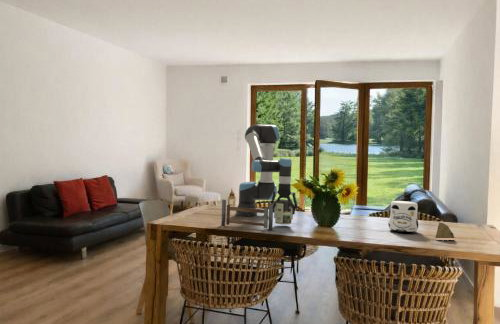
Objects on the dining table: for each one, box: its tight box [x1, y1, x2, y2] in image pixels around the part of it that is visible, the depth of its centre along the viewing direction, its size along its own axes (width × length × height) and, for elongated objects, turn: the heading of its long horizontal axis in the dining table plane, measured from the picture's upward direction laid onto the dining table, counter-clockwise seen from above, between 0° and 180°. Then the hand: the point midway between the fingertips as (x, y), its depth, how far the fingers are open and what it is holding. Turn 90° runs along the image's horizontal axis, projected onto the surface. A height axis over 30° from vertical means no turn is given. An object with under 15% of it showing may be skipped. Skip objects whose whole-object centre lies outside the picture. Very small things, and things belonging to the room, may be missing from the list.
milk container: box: [387, 200, 419, 233], centre depth 260 cm, size 17×17×18 cm
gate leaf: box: [225, 204, 269, 229], centre depth 256 cm, size 2×26×12 cm, turn 72°
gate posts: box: [221, 199, 274, 231], centre depth 256 cm, size 2×32×16 cm, turn 72°
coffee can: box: [274, 199, 293, 226], centre depth 263 cm, size 10×10×14 cm
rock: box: [435, 222, 455, 238], centre depth 239 cm, size 11×9×10 cm
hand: (283, 218), depth 263 cm, fingers closed on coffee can, 10 cm apart
